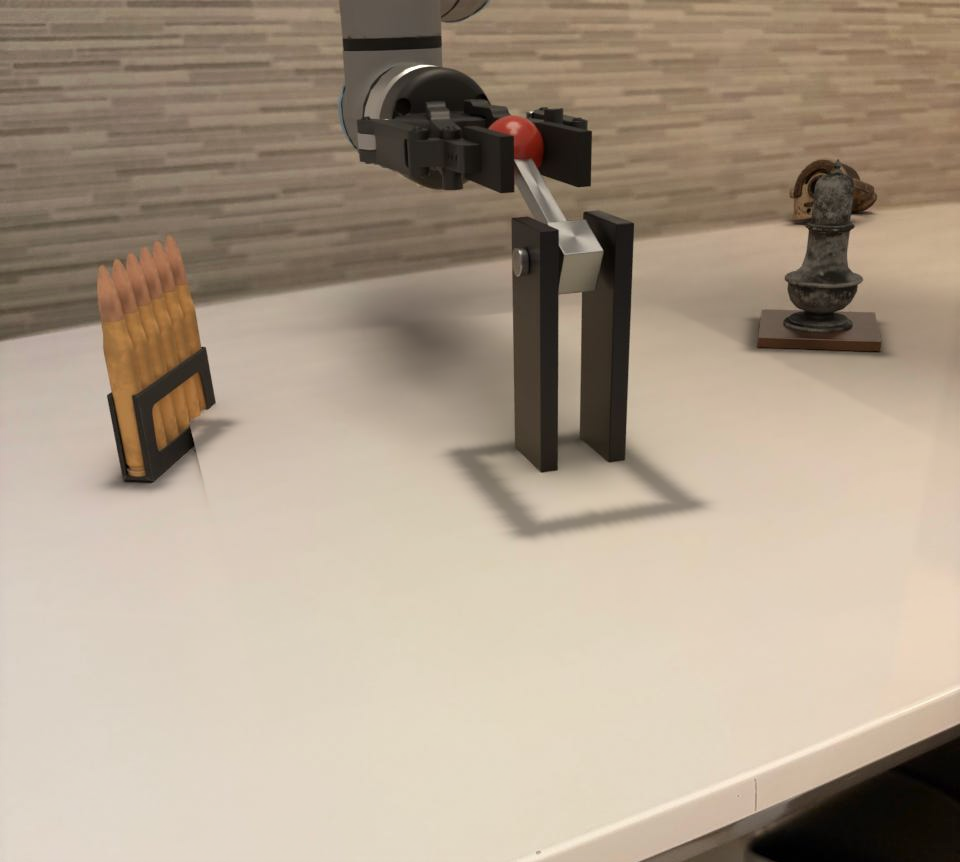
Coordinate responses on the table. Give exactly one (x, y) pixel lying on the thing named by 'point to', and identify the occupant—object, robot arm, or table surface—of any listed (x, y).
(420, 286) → the table surface
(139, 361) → the ammunition clip
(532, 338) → the bracket
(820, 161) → the mechanical counter
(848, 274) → the salt shaker
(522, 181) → the lever
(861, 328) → the coaster
